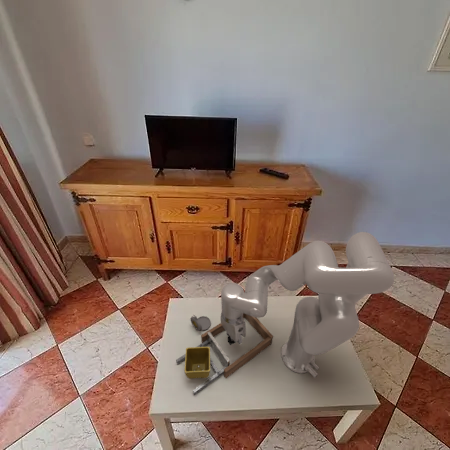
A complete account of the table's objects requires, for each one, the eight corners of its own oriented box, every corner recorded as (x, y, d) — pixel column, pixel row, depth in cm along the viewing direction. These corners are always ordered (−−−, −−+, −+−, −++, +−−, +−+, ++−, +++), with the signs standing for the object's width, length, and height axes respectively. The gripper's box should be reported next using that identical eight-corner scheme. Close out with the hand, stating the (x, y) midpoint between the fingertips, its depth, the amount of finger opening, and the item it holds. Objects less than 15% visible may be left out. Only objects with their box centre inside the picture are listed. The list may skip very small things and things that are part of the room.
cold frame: (271, 344, 105) (273, 336, 101) (225, 378, 94) (225, 370, 91) (245, 314, 116) (245, 305, 112) (201, 342, 105) (200, 333, 102)
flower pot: (210, 358, 100) (210, 346, 95) (210, 383, 93) (210, 371, 88) (187, 359, 100) (185, 347, 94) (186, 384, 93) (184, 372, 87)
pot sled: (229, 369, 97) (229, 360, 92) (194, 395, 90) (193, 386, 85) (209, 341, 105) (209, 331, 101) (176, 362, 98) (174, 353, 94)
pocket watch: (212, 319, 114) (211, 304, 108) (207, 336, 107) (206, 322, 101) (194, 315, 115) (193, 301, 109) (188, 332, 109) (186, 318, 103)
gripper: (254, 322, 87) (251, 351, 98) (228, 293, 97) (228, 322, 108) (237, 335, 84) (236, 363, 94) (211, 303, 94) (213, 332, 104)
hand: (232, 341), depth 101 cm, fingers closed
